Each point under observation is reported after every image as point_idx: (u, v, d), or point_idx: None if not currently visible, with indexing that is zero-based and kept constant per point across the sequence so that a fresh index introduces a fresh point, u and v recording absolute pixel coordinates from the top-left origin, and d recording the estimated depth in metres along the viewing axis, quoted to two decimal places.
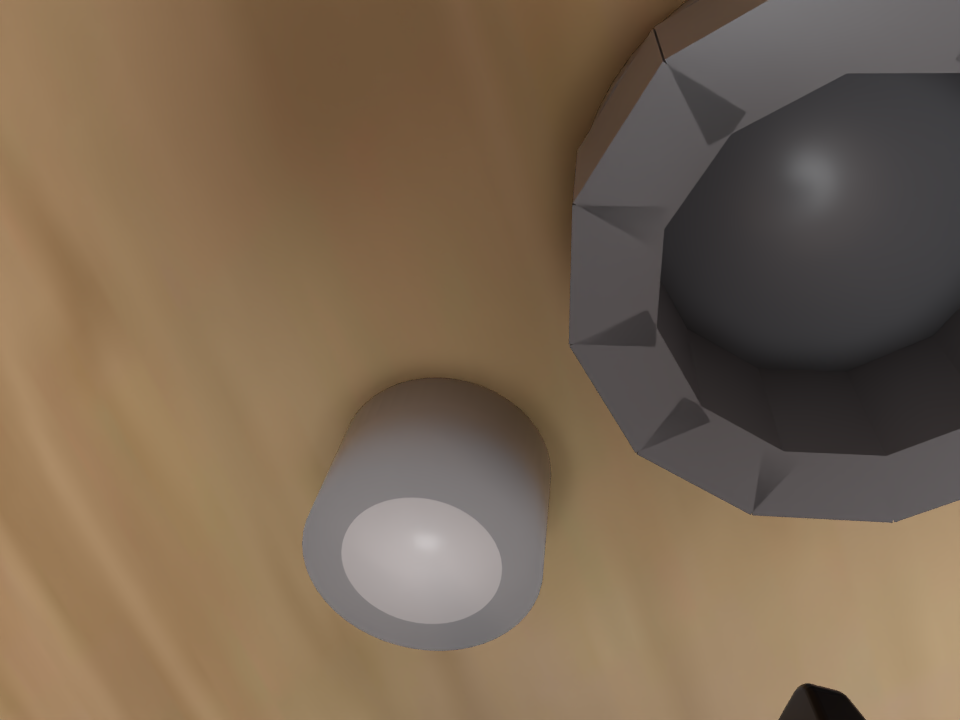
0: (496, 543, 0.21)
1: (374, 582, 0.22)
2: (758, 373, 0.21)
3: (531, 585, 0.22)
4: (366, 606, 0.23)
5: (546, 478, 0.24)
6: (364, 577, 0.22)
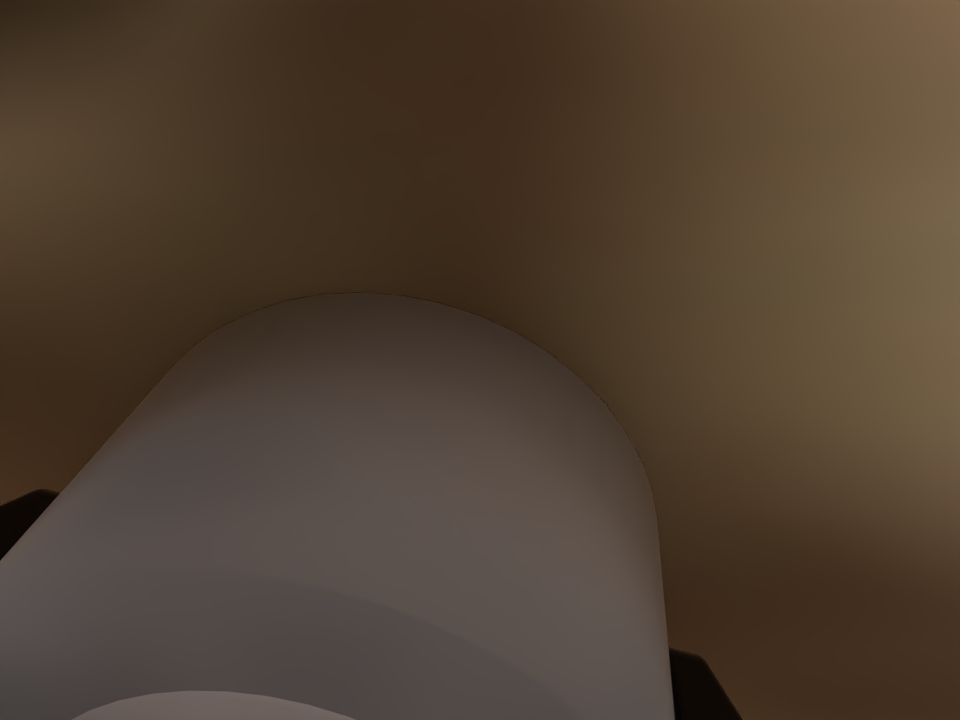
0: (189, 689, 0.06)
1: None
2: None
3: (405, 646, 0.05)
4: None
5: (342, 348, 0.08)
6: None
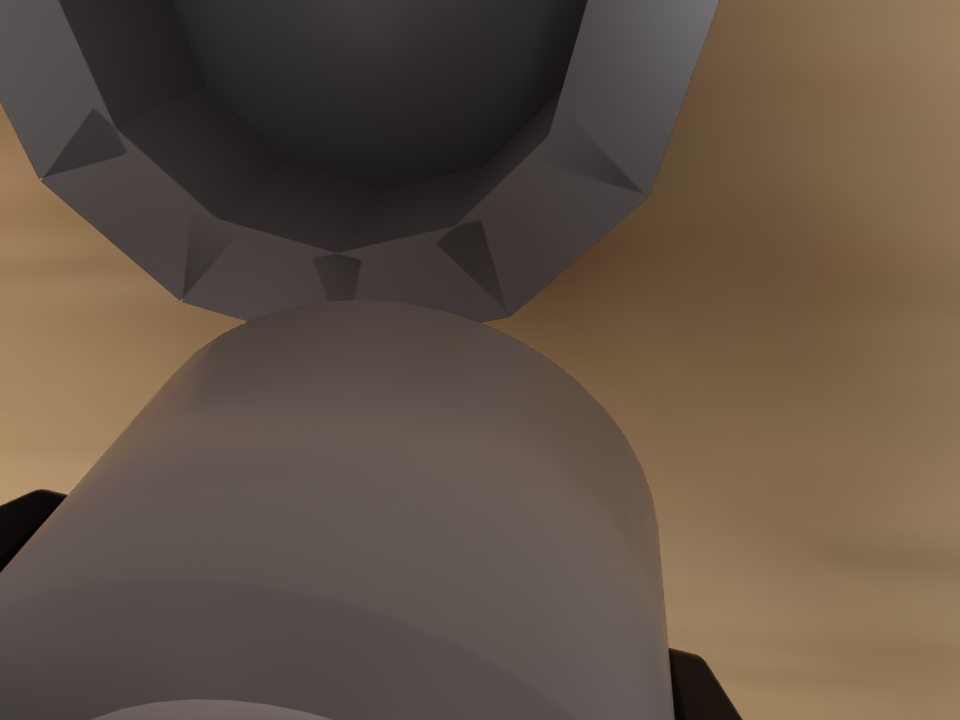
0: (192, 698, 0.06)
1: None
2: (559, 94, 0.16)
3: (407, 656, 0.05)
4: None
5: (344, 356, 0.08)
6: None
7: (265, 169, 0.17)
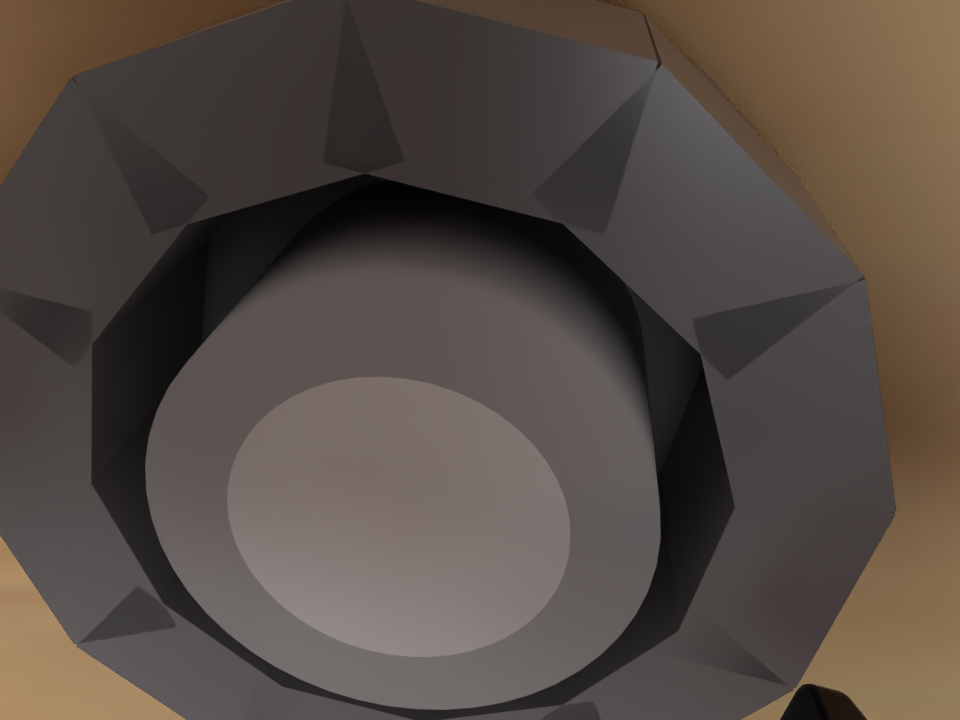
0: (357, 375, 0.09)
1: (434, 620, 0.11)
2: (660, 482, 0.14)
3: (491, 336, 0.09)
4: (499, 652, 0.11)
5: (430, 200, 0.11)
6: (419, 632, 0.11)
7: None
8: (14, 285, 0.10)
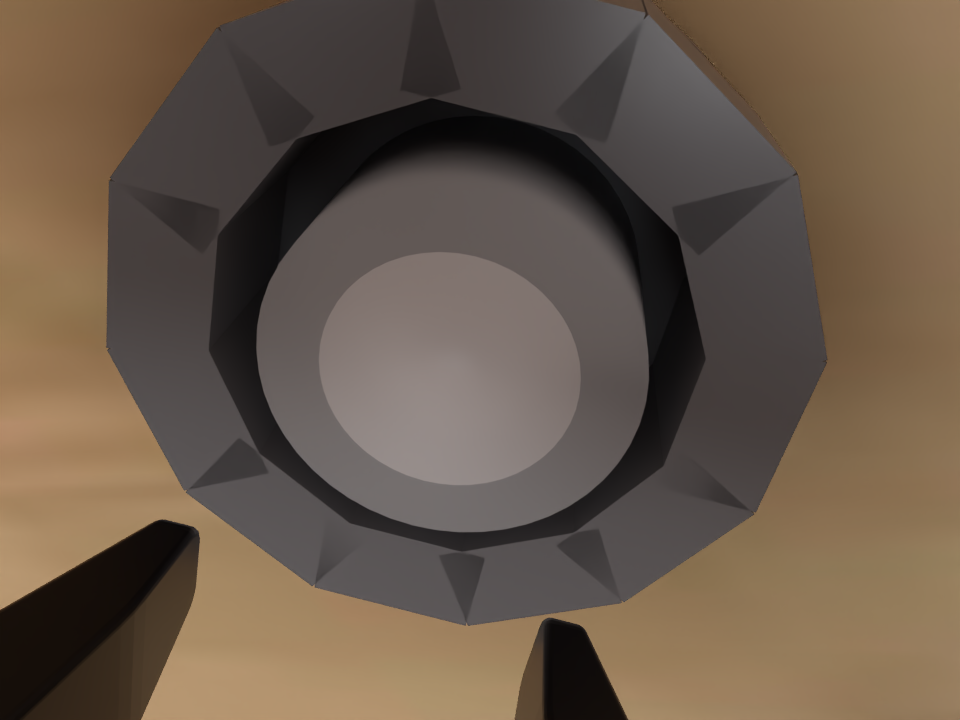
0: (422, 251, 0.13)
1: (474, 452, 0.14)
2: (651, 371, 0.17)
3: (523, 218, 0.12)
4: (524, 480, 0.14)
5: (471, 132, 0.15)
6: (463, 464, 0.14)
7: None
8: (160, 189, 0.13)
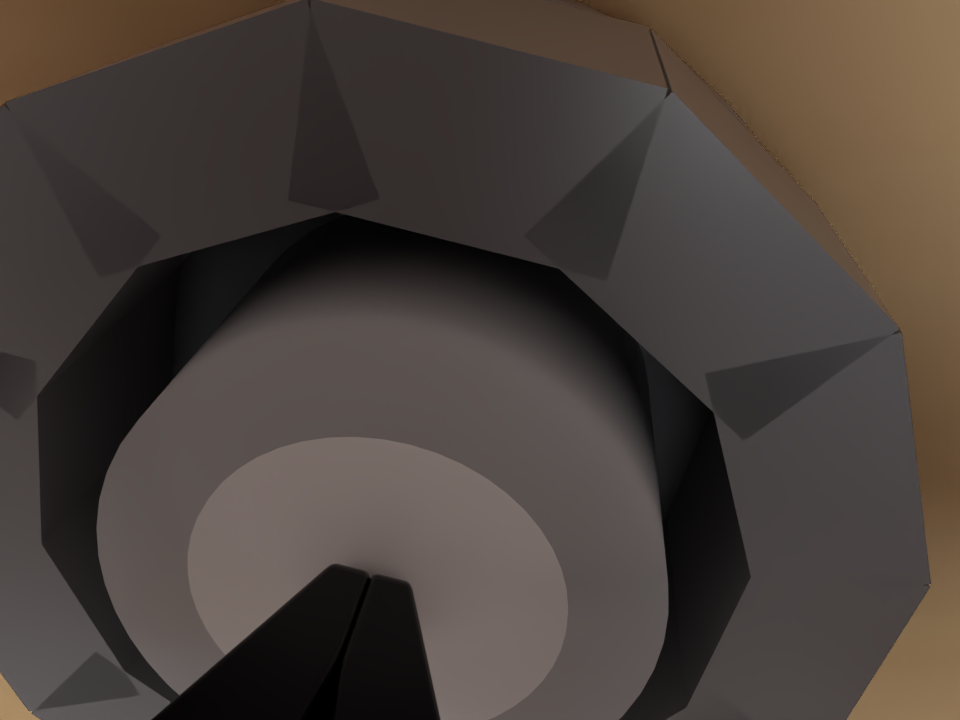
0: (329, 436, 0.08)
1: None
2: (665, 530, 0.13)
3: (479, 395, 0.08)
4: None
5: (415, 232, 0.10)
6: None
7: None
8: None
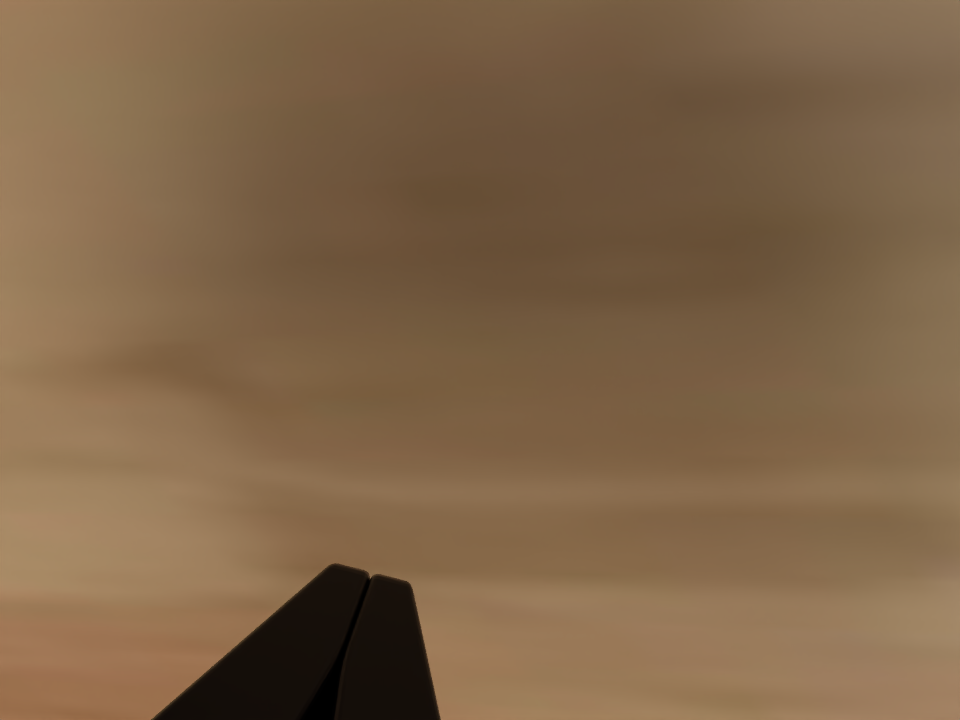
0: None
1: None
2: None
3: None
4: None
5: None
6: None
7: None
8: None
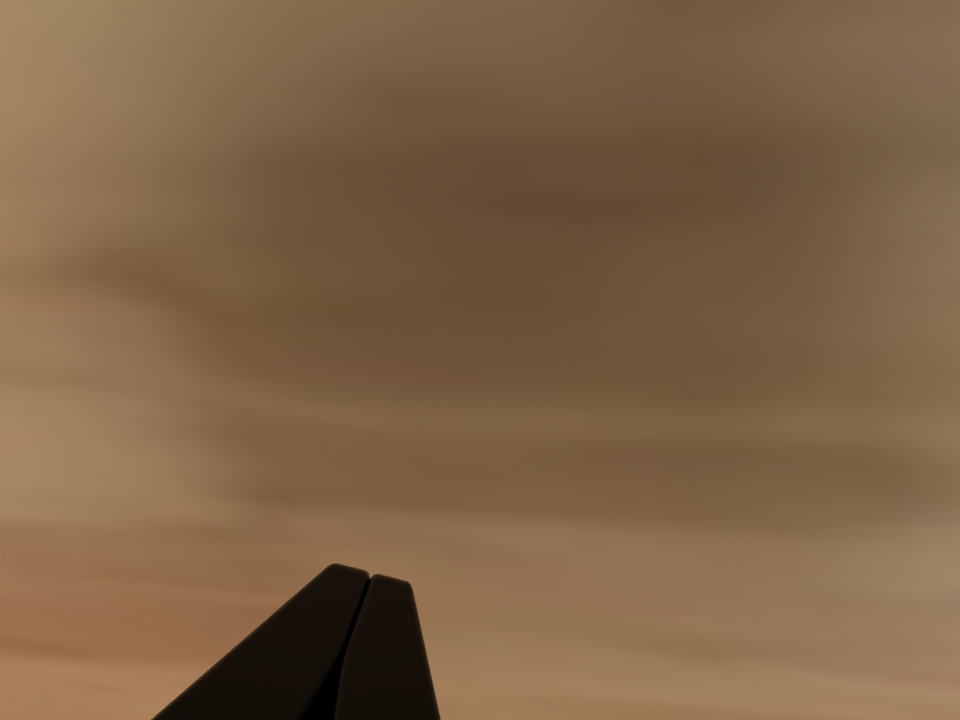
0: None
1: None
2: None
3: None
4: None
5: None
6: None
7: None
8: None
